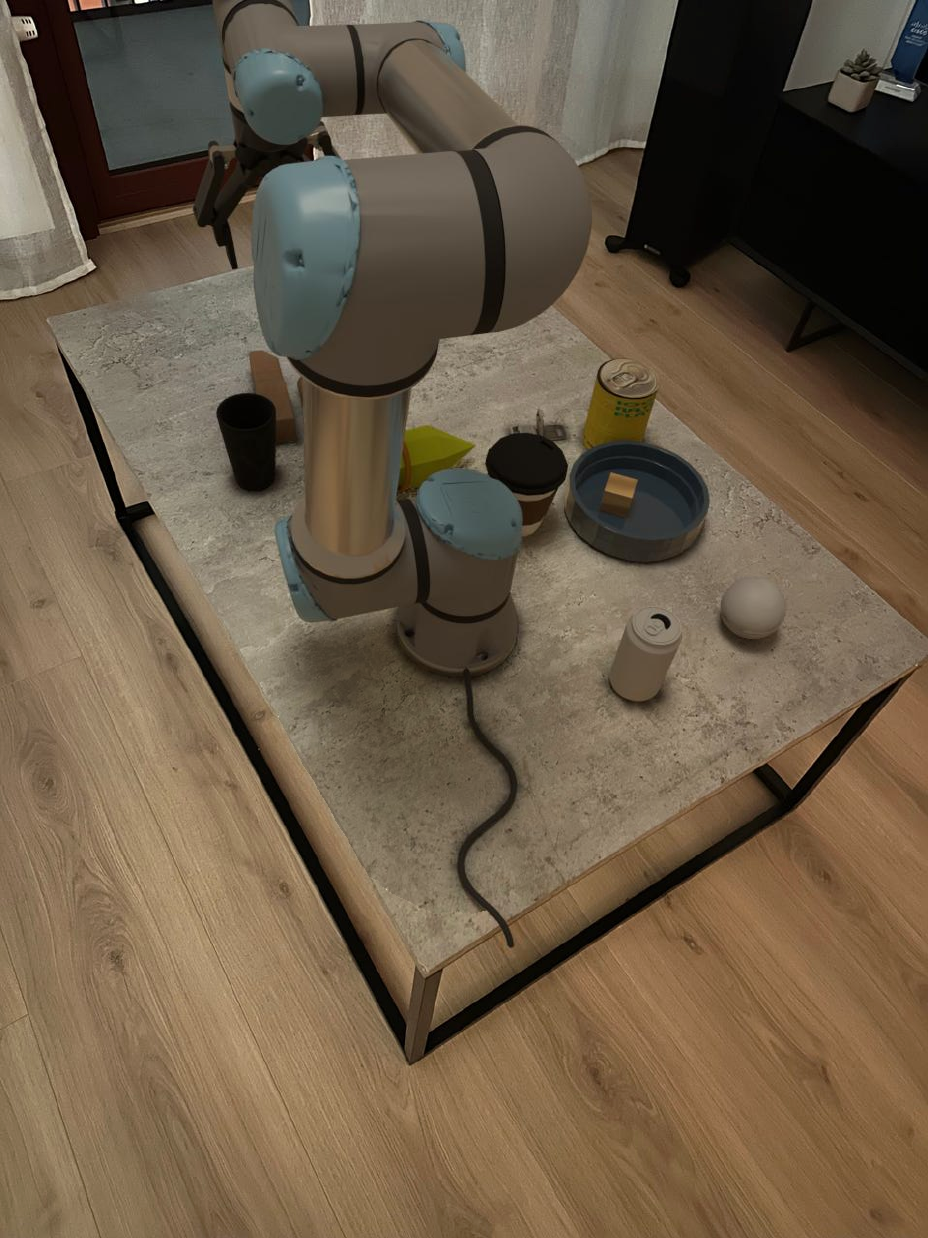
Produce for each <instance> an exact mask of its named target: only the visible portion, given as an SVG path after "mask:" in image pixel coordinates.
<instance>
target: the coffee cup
mask: <svg viewBox="0 0 928 1238" xmlns="http://www.w3.org/2000/svg"><path fill="white" fill-rule="evenodd" d="M566 458H567V457H566V455H565V453H564V451H563V449H562V448H560V446H558V445H557V443H555V442H554V440H549V439H547V438H545V437H543V436H541V435H539V434H538V433H537V434H532V433H518V432H515V433H513V434H510V433H509V434H508V435H505V436H502V437H500V438H499V439H497V441H495V443H493V444H492V445H491V447H490V448H489V449H488V450H487V453H486V458H485V461H484V465H485V468H486V472H487V475H489V477H491V478H493V479H496V480H499V481H500V482H502V483H503V484H504V485H505V486H506V487H508V488H509V489H510V491H511V492H512V493H513V494H514V495H515V497H516V499H517V500H518V502H519V504H520V507H521V510H522V518H523V519H522V531H521V533H522V538H524V537H528V536H530V535H532V534H533V533H535V532H536V531H537V530H538V528H540V526H541V524H542V522H543V520H544V518H545V517H546V516H547V514H548V512H549V509H550V507H551V505H552V503H553V501H554V498H555V496H556V494H557V492H558V489H559V488H560V487H561V486H562V485H563V484H564V483H565V482H566V480H567V475H568V471H569V463H568V461H567V459H566Z"/></svg>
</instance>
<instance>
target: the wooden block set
mask: <svg viewBox="0 0 928 1238" xmlns="http://www.w3.org/2000/svg"><path fill="white" fill-rule="evenodd" d="M248 359H249V365H250V372H251V377H252V381H253V387H254V394H258V395H262V396H264V397H266V398H268V399H269V400H270V401H271V402H272V403H273V404H274V406H275V409H276V445H279V444H287V443H294V442H296V441H297V428H296V419H295V418H296V417H295V414H294V410H293V406H292V402H291V398H290V395H289V390H288V386H287V383H286V380H285V379H284V375H283V371H282V366H281V363H280V358H278V356H276V355H275V354H274V355H273V354H271V353H270V352H269V353H268V352H267V351H265V350H262V349H261V350H260V349H259V350H252V351H251V350H250V352H249V353H248ZM296 387H297V390H298V395H299V398H300V402H301V405H302V407H303V379H302V377H301V376H300V377H298V379H297V381H296Z"/></svg>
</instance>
